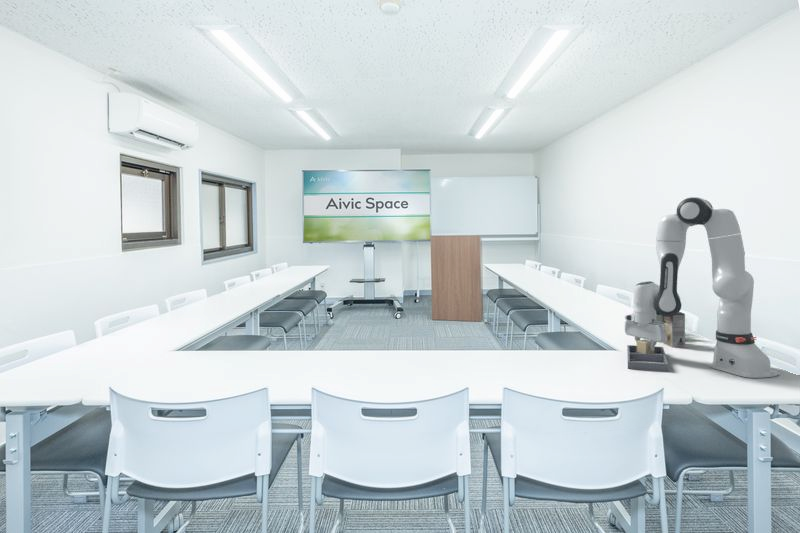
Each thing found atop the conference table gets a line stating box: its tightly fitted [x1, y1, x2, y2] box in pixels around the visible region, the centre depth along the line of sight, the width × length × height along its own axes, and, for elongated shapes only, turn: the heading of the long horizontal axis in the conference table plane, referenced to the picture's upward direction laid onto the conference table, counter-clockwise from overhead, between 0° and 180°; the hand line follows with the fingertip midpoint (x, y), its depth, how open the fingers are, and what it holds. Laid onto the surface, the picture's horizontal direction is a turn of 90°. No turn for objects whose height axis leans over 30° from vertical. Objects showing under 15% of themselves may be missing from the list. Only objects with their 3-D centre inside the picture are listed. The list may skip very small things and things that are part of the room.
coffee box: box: [662, 311, 686, 348], centre depth 225 cm, size 9×6×16 cm
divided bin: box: [626, 344, 669, 372], centre depth 203 cm, size 28×15×3 cm, turn 154°
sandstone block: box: [636, 339, 655, 354], centre depth 209 cm, size 5×5×5 cm
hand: (645, 348), depth 209 cm, fingers closed on sandstone block, 5 cm apart
